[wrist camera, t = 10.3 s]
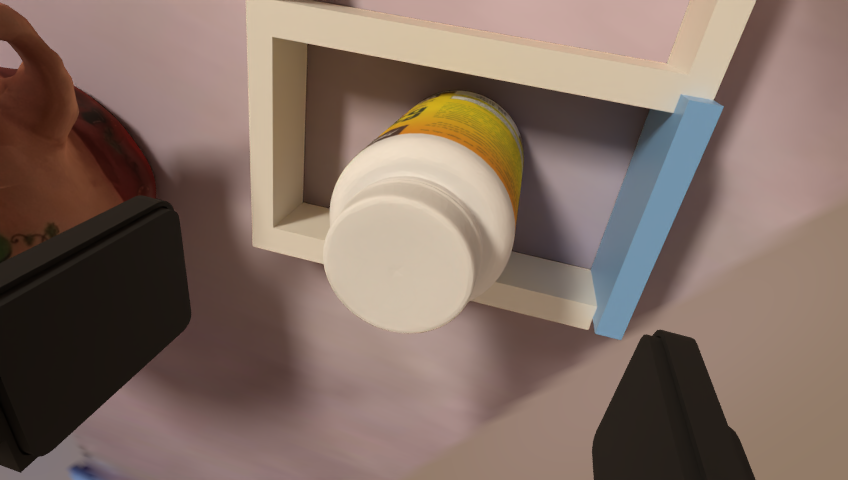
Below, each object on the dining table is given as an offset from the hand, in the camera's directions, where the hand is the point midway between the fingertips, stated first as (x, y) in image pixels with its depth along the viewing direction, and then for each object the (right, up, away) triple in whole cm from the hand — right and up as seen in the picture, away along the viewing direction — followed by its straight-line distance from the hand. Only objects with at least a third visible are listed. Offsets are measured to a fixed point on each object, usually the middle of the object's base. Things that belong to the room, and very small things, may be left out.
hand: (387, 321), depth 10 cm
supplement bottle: (+2, +5, +11) cm, 13 cm away
